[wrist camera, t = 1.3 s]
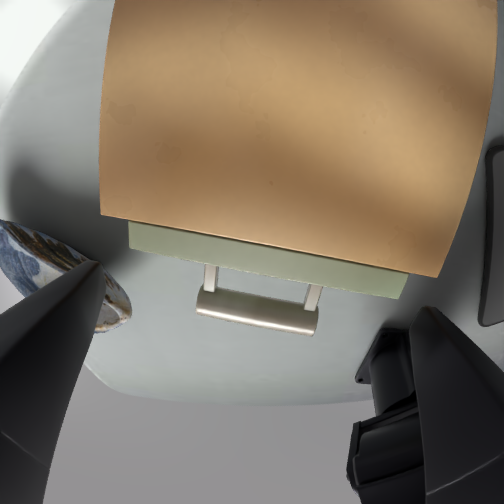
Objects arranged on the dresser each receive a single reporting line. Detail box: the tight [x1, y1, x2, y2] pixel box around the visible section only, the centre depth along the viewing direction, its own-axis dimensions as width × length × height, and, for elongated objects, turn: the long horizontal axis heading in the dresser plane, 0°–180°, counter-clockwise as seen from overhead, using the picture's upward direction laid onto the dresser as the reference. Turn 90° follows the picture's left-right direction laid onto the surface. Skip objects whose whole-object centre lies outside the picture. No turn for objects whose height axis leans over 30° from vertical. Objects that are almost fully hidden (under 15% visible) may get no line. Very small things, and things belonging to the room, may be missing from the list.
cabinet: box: [99, 0, 497, 278], centre depth 11 cm, size 14×12×10 cm
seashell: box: [0, 219, 132, 333], centre depth 21 cm, size 15×12×5 cm
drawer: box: [128, 220, 409, 336], centre depth 13 cm, size 17×11×8 cm, turn 172°
